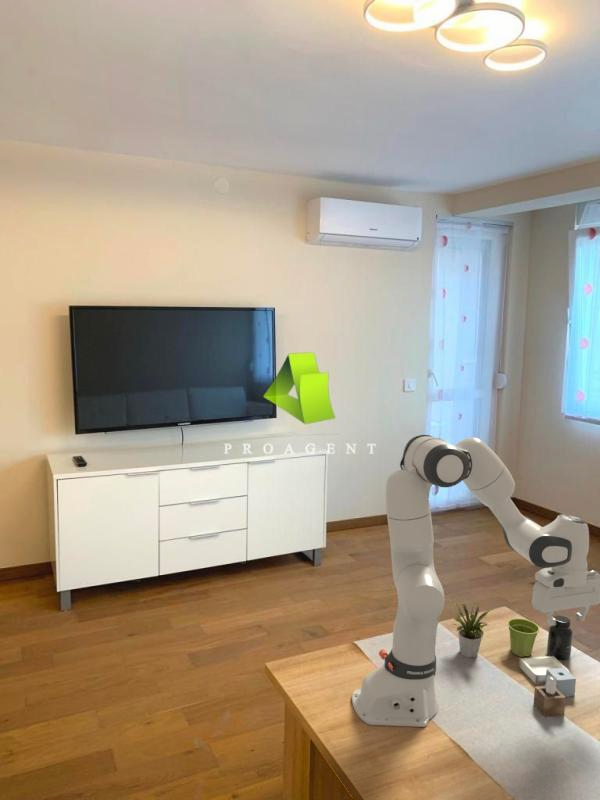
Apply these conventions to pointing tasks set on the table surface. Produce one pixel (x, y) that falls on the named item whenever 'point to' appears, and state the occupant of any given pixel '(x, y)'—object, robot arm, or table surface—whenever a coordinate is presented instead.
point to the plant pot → (522, 636)
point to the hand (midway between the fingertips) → (565, 622)
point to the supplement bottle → (560, 639)
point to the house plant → (470, 631)
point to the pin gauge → (550, 686)
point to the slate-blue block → (563, 680)
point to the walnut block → (549, 702)
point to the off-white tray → (539, 667)
